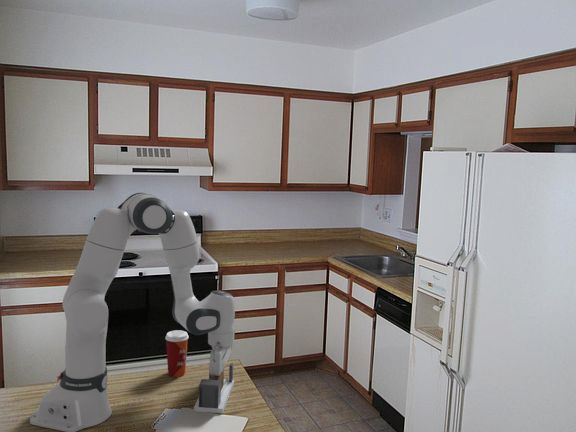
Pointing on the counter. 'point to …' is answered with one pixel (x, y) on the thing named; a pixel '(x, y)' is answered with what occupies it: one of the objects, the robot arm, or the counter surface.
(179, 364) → the coffee cup
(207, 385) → the endcap frame
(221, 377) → the slat
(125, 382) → the counter surface
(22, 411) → the counter surface
